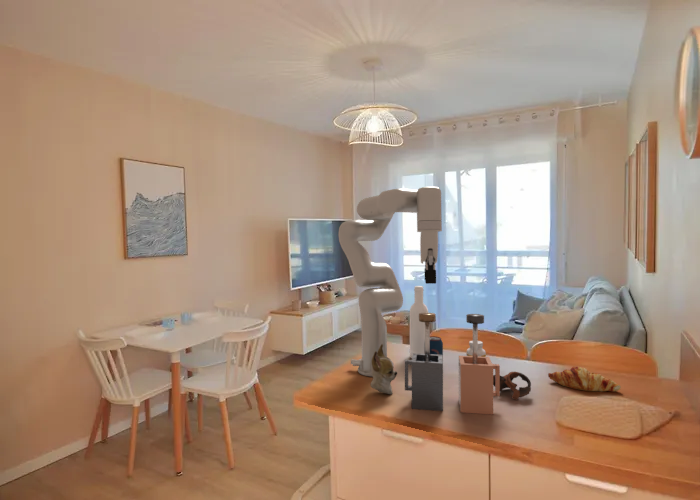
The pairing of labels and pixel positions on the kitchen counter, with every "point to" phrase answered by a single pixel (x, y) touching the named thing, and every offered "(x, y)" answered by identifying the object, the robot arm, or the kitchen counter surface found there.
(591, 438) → the kitchen counter surface
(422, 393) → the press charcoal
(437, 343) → the soda can
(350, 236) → the robot arm
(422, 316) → the plunger bronze
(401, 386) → the kitchen counter surface
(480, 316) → the grey plunger
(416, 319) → the bottle
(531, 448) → the kitchen counter surface
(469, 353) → the supplement bottle
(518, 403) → the kitchen counter surface
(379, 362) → the ceramic sculpture
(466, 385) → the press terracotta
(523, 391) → the brown curved piece
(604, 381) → the croissant
